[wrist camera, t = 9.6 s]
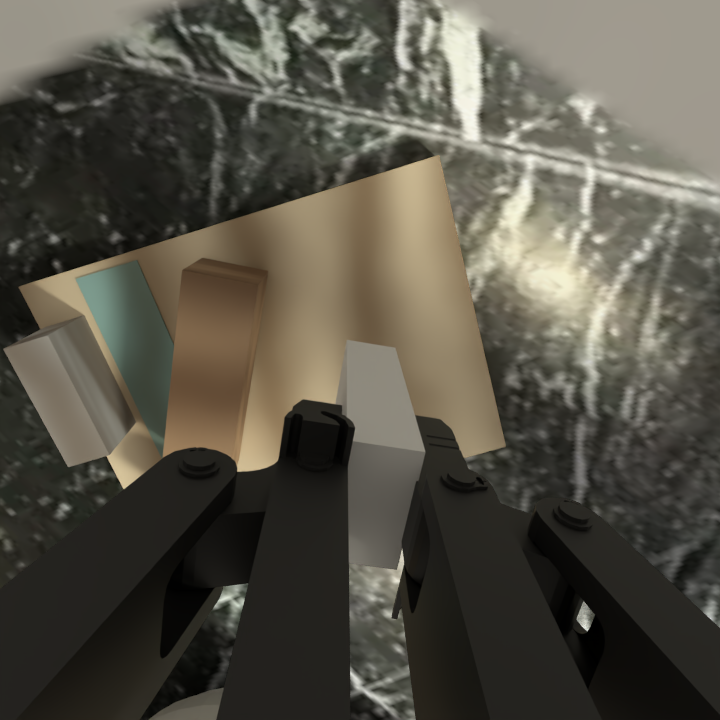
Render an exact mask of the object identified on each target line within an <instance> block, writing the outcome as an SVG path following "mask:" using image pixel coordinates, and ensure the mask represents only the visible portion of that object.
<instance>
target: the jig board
mask: <svg viewBox="0 0 720 720" xmlns="http://www.w3.org/2000/svg"><path fill="white" fill-rule="evenodd" d="M201 258H207V259H212V260H217V261H222V262H227V263H232V264H237V265H242V266H247V267H252V268H257V269H262V270H267V271H268V277H267V283H266V290H265V296H264V303H263V309H262V316H261V322H260V328H259V335H258V341H257V348H256V354H255V360H254V367H253V373H252V380H251V386H250V393H249V399H248V405H247V412H246V418H245V425H244V431H243V437H242V444H241V450H240V457H239V461H238V464H237V472H241V471H254V470H260V469H264V468H267V467H269V466H271V465H273V464H275V463H276V462H277V461H278V458H279V452H280V445H281V438H282V432H283V425H284V418H285V416H286V415H287V413H288V412H290V411H292V408H293V406H294V405H295V404H297V403H298V402H300V401H301V400H303V399H305V400H312V401H318V402H325V403H331V404H335V403H336V397H337V391H338V386H339V380H340V375H341V369H342V364H343V358H344V352H345V347H346V341H347V340H351V341H357V342H363V343H369V344H375V345H381V346H387V347H394V348H396V352H397V355H398V359H399V362H400V365H401V369H402V372H403V376H404V379H405V383H406V386H407V390H408V393H409V397H410V400H411V404H412V407H413V410H414V414H415V415H418V416H424V417H431V418H437V419H441V420H442V421H443V422H444V423H445V424H446V425H448V426H449V427H450V428H451V429H452V431H453V433H454V436H455V438H456V441H457V443H458V445H459V448H460V449H459V450H461V452H462V455H463V457H464V458H467V457H470V456H474V455H478V454H481V453H485V452H488V451H492V450H496V449H499V448H503V447H506V445H505V440H504V436H503V431H502V427H501V423H500V418H499V414H498V410H497V405H496V401H495V397H494V392H493V388H492V384H491V379H490V375H489V371H488V366H487V362H486V357H485V353H484V349H483V344H482V340H481V336H480V331H479V327H478V323H477V318H476V314H475V310H474V305H473V301H472V296H471V292H470V288H469V283H468V279H467V275H466V270H465V266H464V262H463V257H462V253H461V249H460V244H459V240H458V235H457V231H456V227H455V222H454V218H453V214H452V209H451V205H450V201H449V196H448V192H447V188H446V183H445V179H444V175H443V170H442V166H441V161H440V157H439V155H437V156H433V157H430V158H427V159H424V160H421V161H417V162H414V163H411V164H408V165H405V166H401V167H398V168H395V169H392V170H389V171H385V172H382V173H379V174H376V175H373V176H369V177H366V178H363V179H360V180H357V181H353V182H350V183H347V184H344V185H341V186H338V187H334V188H331V189H328V190H325V191H322V192H318V193H315V194H312V195H309V196H306V197H302V198H299V199H296V200H293V201H290V202H286V203H283V204H280V205H277V206H274V207H270V208H267V209H264V210H261V211H258V212H255V213H251V214H248V215H245V216H242V217H239V218H235V219H232V220H229V221H226V222H223V223H219V224H216V225H213V226H210V227H207V228H203V229H200V230H197V231H194V232H191V233H187V234H184V235H181V236H178V237H175V238H172V239H168V240H165V241H162V242H159V243H156V244H152V245H149V246H146V247H143V248H140V249H136V250H133V251H130V252H127V253H124V254H120V255H117V256H114V257H111V258H108V259H104V260H101V261H98V262H95V263H92V264H89V265H85V266H82V267H79V268H76V269H73V270H69V271H66V272H63V273H60V274H57V275H53V276H50V277H47V278H44V279H41V280H37V281H34V282H31V283H28V284H25V285H22V286H20V287H19V289H20V291H21V293H22V295H23V297H24V298H25V300H26V302H27V304H28V306H29V308H30V310H31V312H32V314H33V316H34V318H35V320H36V322H37V323H38V325H39V327H40V329H41V330H39V331H37V332H35V333H33V334H31V335H29V336H27V337H25V338H23V339H21V340H19V341H18V342H16V343H14V344H12V345H10V346H8V347H6V348H4V349H3V350H4V351H5V353H6V355H7V357H8V359H9V361H10V362H11V364H12V366H13V368H14V370H15V371H16V373H17V375H18V377H19V379H20V381H21V382H22V384H23V386H24V388H25V390H26V391H27V393H28V395H29V397H30V399H31V400H32V402H33V404H34V406H35V408H36V410H37V411H38V413H39V415H40V417H41V419H42V420H43V422H44V424H45V426H46V428H47V429H48V431H49V433H50V435H51V437H52V439H53V440H54V442H55V444H56V446H57V448H58V449H59V451H60V453H61V455H62V457H63V458H64V460H65V462H66V464H67V466H68V467H70V466H74V465H77V464H80V463H84V462H87V461H91V460H94V459H98V458H101V457H105V456H107V458H108V460H109V462H110V464H111V466H112V468H113V470H114V472H115V474H116V476H117V477H118V479H119V481H120V483H121V485H122V487H123V489H125V488H126V487H127V486H129V485H130V484H131V483H132V482H134V481H135V480H136V479H137V478H139V477H140V476H141V475H142V474H144V473H145V472H146V471H147V470H149V469H150V468H151V467H152V466H154V465H155V464H156V463H157V462H158V461H160V460H161V459H162V458H163V449H164V439H165V430H166V420H167V410H168V401H169V391H170V381H171V372H172V362H173V352H174V343H175V333H176V324H177V314H178V304H179V295H180V285H181V275H182V270H183V269H185V268H186V267H188V266H190V265H191V264H193V263H195V262H196V261H198V260H199V259H201Z"/></svg>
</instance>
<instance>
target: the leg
mask: <svg viewBox="0 0 720 720" xmlns="http://www.w3.org/2000/svg"><path fill="white" fill-rule="evenodd" d="M267 277H268V271H267V270H262V269H257V268H252V267H247V266H242V265H237V264H232V263H227V262H222V261H217V260H212V259H207V258H201V259H199V260H198V261H196V262H195V263H193V264H191V265H190V266H188V267H186V268H185V269H183V270H182V275H181V285H180V295H179V304H178V314H177V324H176V333H175V343H174V352H173V362H172V372H171V381H170V391H169V401H168V410H167V420H166V430H165V439H164V449H163V457H165V456H167V455H169V454H170V453H172V452H174V451H178V450H182V449H187V448H193V447H196V448H198V447H203V448H207V449H213V450H217V451H220V452H222V453H224V454H227V455H228V456H230V457H231V458H232V459H233V460H234V461H235V462H236V466H237V464H238V461H239V457H240V450H241V444H242V437H243V431H244V425H245V418H246V412H247V405H248V399H249V393H250V386H251V380H252V373H253V367H254V360H255V354H256V348H257V341H258V335H259V328H260V322H261V316H262V309H263V303H264V296H265V290H266V283H267Z"/></svg>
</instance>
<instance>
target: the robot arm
mask: <svg viewBox="0 0 720 720" xmlns="http://www.w3.org/2000/svg"><path fill="white" fill-rule="evenodd" d="M459 449H460V448H459V445H458V443H457V441H456V438H455V436H454V433H453V431H452V429H451V428H450V427H449V426H448V425H446V424H445V423H444V422H443V421H442V420H441V419H437V418H431V417H424V416H418V415H415V414H414V410H413V407H412V404H411V400H410V397H409V393H408V390H407V386H406V383H405V379H404V376H403V372H402V369H401V365H400V362H399V359H398V355H397V352H396V348H394V347H387V346H381V345H375V344H369V343H363V342H357V341H351V340H347V341H346V347H345V352H344V358H343V364H342V369H341V375H340V380H339V386H338V391H337V397H336V403H335V404H331V403H325V402H318V401H312V400H305V399H303V400H301V401H300V402H298V403H297V404H295V405H294V406H293V408H292V411H290V412H288V413H287V415H286V416H285V418H284V425H283V432H282V438H281V445H280V452H279V458H278V461H277V462H276V463H275V464H273V465H271V466H269V467H267V468H264V469H260V470H254V471H241V472H237V466H236V462H235V461H234V460H233V459H232V458H231V457H230V456H228V455H227V454H224V453H222V452H220V451H217V450H213V449H207V448H203V447H198V448H196V447H193V448H187V449H182V450H178V451H174V452H172V453H170V454H169V455H167V456H165V457H163V458H162V459H161V460H160V461H158V462H157V463H156V464H155V465H154V466H152V467H151V468H150V469H149V470H147V471H146V472H145V473H144V474H142V475H141V476H140V477H139V478H137V479H136V480H135V481H134V482H132V483H131V484H130V485H129V486H127V487H126V488H125V489H124V490H122V491H121V492H120V493H119V494H118V495H116V496H115V497H114V498H113V499H111V500H110V501H109V502H108V503H106V504H105V505H104V506H103V507H101V508H100V509H99V510H98V511H96V512H95V513H94V514H93V515H91V516H90V517H89V518H88V519H86V520H85V521H84V522H83V523H81V524H80V525H79V526H78V527H77V528H75V529H74V530H73V531H72V532H70V533H69V534H68V535H67V536H65V537H64V538H63V539H62V540H60V541H59V542H58V543H57V544H55V545H54V546H53V547H52V548H50V549H49V550H48V551H47V552H45V553H44V554H43V555H42V556H40V557H39V558H38V559H37V560H36V561H34V562H33V563H32V564H31V565H29V566H28V567H27V568H26V569H24V570H23V571H22V572H21V573H19V574H18V575H17V576H16V577H14V578H13V579H12V580H11V581H9V582H8V583H7V584H6V585H4V586H3V587H2V588H1V589H0V720H140V719H141V717H142V716H143V714H144V712H145V711H146V709H147V708H148V706H149V705H150V703H151V702H152V700H153V699H154V697H155V696H156V694H157V693H158V691H159V690H160V688H161V687H162V685H163V684H164V682H165V680H166V679H167V677H168V676H169V674H170V673H171V671H172V670H173V668H174V667H175V665H176V664H177V662H178V661H179V659H180V658H181V656H182V655H183V653H184V652H185V650H186V648H187V647H188V645H189V644H190V642H191V641H192V639H193V638H194V636H195V635H196V633H197V632H198V630H199V629H200V627H201V626H202V624H203V623H204V621H205V620H206V618H207V617H208V615H209V613H210V612H211V610H212V609H213V607H214V606H215V604H216V603H217V601H218V600H219V598H220V595H221V593H222V590H223V586H230V585H238V584H246V583H249V584H248V588H247V592H246V597H245V601H244V605H243V609H242V613H241V618H240V622H239V626H238V630H237V634H236V639H235V643H234V647H233V651H232V655H231V660H230V664H229V668H228V672H227V677H226V681H225V685H224V689H223V693H222V698H221V702H220V706H219V710H218V714H217V719H216V720H350V628H349V563H350V564H358V565H365V566H373V567H380V568H388V569H396V570H397V567H398V563H399V559H400V554H401V550H402V549H403V556H404V567H403V571H402V575H401V579H400V583H399V587H398V591H397V595H396V599H395V603H394V607H393V612H392V618H393V619H397V618H398V614H399V610H400V609H401V608H402V613H403V621H404V629H405V637H406V645H407V653H408V661H409V669H410V677H411V685H412V692H413V700H414V708H415V716H416V720H720V628H719V627H718V626H717V625H716V624H715V623H714V622H713V621H712V620H711V619H709V618H708V617H707V616H706V615H705V614H704V613H703V612H702V611H701V610H700V609H699V608H698V607H697V606H696V605H694V604H693V603H692V602H691V601H690V600H689V599H688V598H687V597H686V596H685V595H684V594H683V593H682V592H680V591H679V590H678V589H677V588H676V587H675V586H674V585H673V584H672V583H671V582H670V581H669V580H668V579H666V578H665V577H664V576H663V575H662V574H661V573H660V572H659V571H658V570H657V569H656V568H655V567H654V566H653V565H651V564H650V563H649V562H648V561H647V560H646V559H645V558H644V557H643V556H642V555H641V554H640V553H639V552H637V551H636V550H635V549H634V548H633V547H632V546H631V545H630V544H629V543H628V542H627V541H626V540H625V539H624V538H622V537H621V536H620V535H619V534H618V533H617V532H616V531H615V530H614V529H613V528H612V527H611V526H610V525H608V524H607V523H606V522H605V521H604V520H603V519H602V518H601V517H600V516H598V515H597V514H596V513H594V512H593V511H592V510H590V509H588V508H586V507H584V506H582V505H581V504H580V503H578V502H576V501H573V500H572V501H570V499H566V498H555V497H548V498H542V499H540V500H539V501H538V502H537V503H536V505H535V508H534V511H533V514H530V513H527V512H524V511H521V510H518V509H514V508H511V507H509V506H506V505H504V504H501V503H500V502H499V499H498V497H497V495H496V493H495V491H494V489H493V487H492V486H491V484H490V483H489V482H488V481H487V480H486V479H485V478H484V477H482V476H481V475H479V474H478V473H476V472H473V471H471V470H469V469H468V467H467V464H466V462H465V460H464V457H463V455H462V452H461V450H459ZM583 601H584V602H585V603H586V604H587V605H588V607H589V608H590V609H591V610H592V611H593V613H594V614H595V617H594V619H593V622H592V624H591V627H590V629H589V630H588V632H587V631H586V630H585V629H584V628H583V627H582V626H581V625H580V624H579V622H578V621H577V620H576V619H577V616H578V613H579V611H580V608H581V606H582V603H583Z"/></svg>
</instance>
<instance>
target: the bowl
mask: <svg viewBox="0 0 720 720" xmlns="http://www.w3.org/2000/svg"><path fill="white" fill-rule="evenodd" d="M223 689H224V688H219V689H213V690H209V691H206V692H203V693H200V694H198V695H195V696H191V697H188V698H186V699H183V700H180V701H177V702H175V703H173V704H171V705H170V706H168V707H166V708H164V709H162V710H161V711H159V712H158V713H157V714H155V715H154V716H153V717H151V718H150V719H149V720H216V719H217V714H218V710H219V706H220V702H221V698H222V693H223Z"/></svg>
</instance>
